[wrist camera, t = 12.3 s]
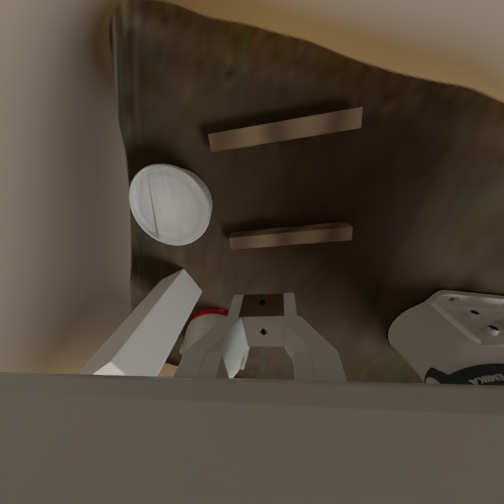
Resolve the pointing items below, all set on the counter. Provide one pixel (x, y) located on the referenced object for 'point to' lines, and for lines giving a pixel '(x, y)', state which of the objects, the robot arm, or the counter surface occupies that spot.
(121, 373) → the milk
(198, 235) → the ramekin
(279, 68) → the counter surface
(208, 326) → the kitchen timer
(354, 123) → the parallel wooden rails
